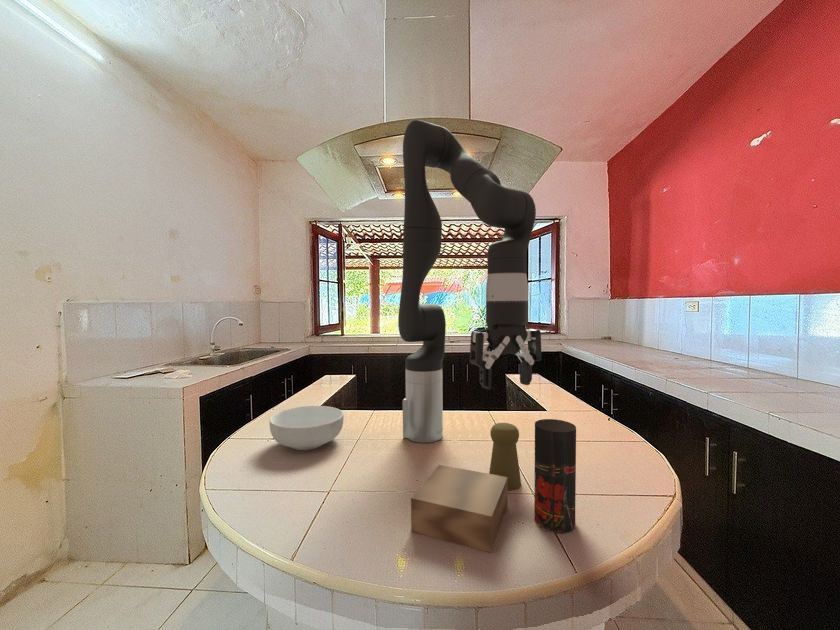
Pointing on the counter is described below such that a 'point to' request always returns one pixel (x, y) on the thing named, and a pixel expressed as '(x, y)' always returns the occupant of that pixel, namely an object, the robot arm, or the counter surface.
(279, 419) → the cereal bowl
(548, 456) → the deodorant
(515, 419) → the counter surface
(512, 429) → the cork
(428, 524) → the walnut block
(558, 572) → the counter surface
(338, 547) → the counter surface
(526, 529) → the counter surface
